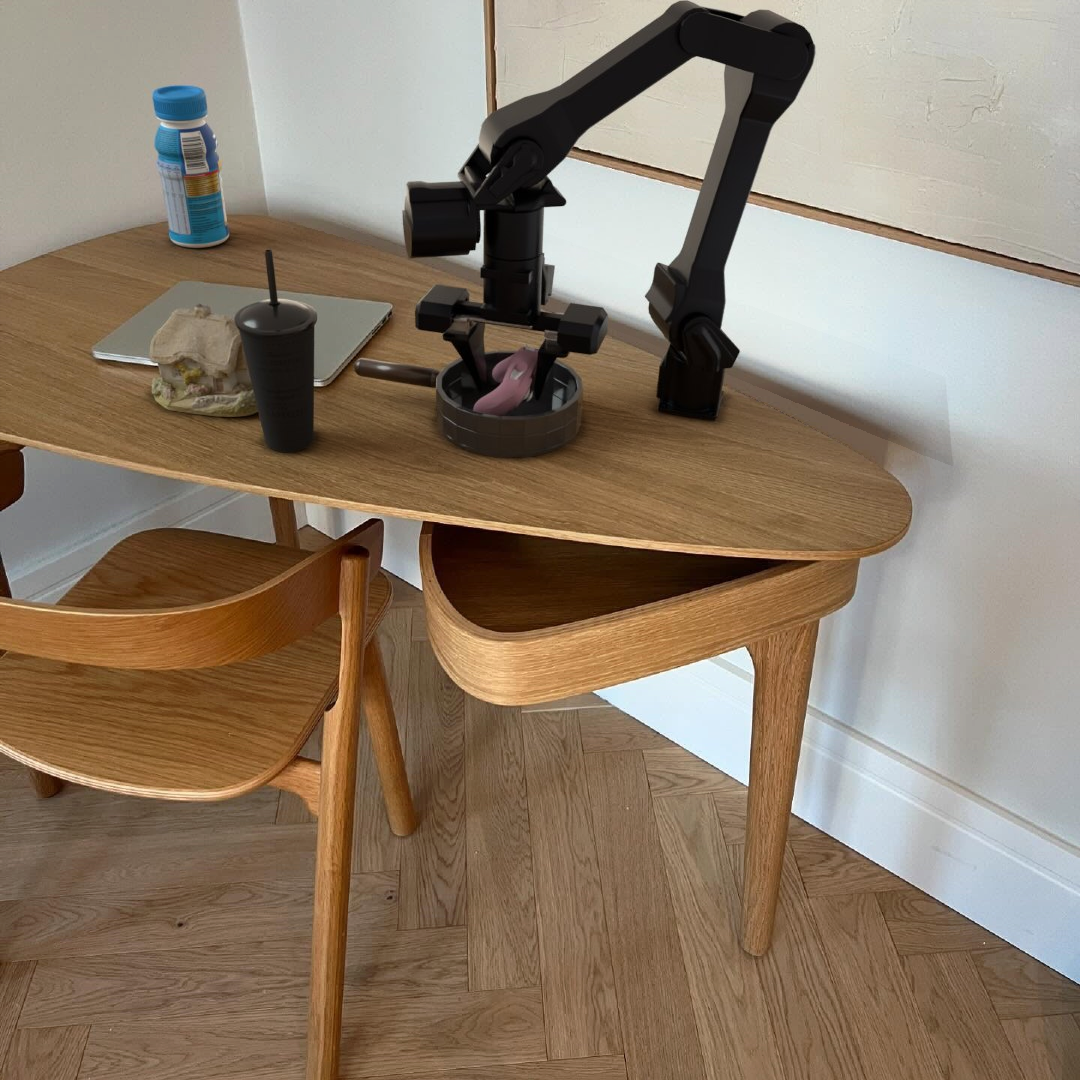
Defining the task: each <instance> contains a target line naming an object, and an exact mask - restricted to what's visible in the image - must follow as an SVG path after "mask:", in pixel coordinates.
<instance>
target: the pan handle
mask: <svg viewBox="0 0 1080 1080" xmlns="http://www.w3.org/2000/svg"><path fill="white" fill-rule="evenodd" d="M353 370H354V372H355V374H356V375H357V376H359V377H363V378H368V379H374V380H381V381H387V382H393V383H399V384H400V383H401V384H406V385H413V386H417V387H424V388H431V389H436V378H437V376H438V375H439V373H440V372H441V370H439V369H437V368H431V367H425V366H417V365H412V364H406V363H399V362H395V361H394V362H393V361H387V360H380V359H374V358H369V357H368V358H367V357H359V358H358V359H356V361H355V362H354V364H353Z"/></svg>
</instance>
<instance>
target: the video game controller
mask: <svg viewBox="0 0 1080 1080" xmlns="http://www.w3.org/2000/svg"><path fill="white" fill-rule="evenodd" d="M538 350H539V348H536V347H535V346H529V345H528V344H527V343H526V344H525V346H521V347H520V348H519V349H518V350H516V351H517V352H516V353H515V354H513V355H512V356H510V357H508V358H506V359H505V360H503V361H501V362H500V363H498V364H497V365H496V366H495V368H494V369H493V372H492V376H493V378H494V380H495V381H496V382H498V383H501V384H500V386H498V387H497V388H496V389H495V390H493V391H492V392H491V393H489V394H487V395H485V396H484V397H482V398H480V399H479V400H478V401H477V402H476V404H475V405H474V408H473V411H476V412H479V413H484V414H490V415H496V416H503V415H505V414H506V413H508V412H509V411H510V412H513V411H514V409H515V408H517V406H518V405H519V404H520V403H521V402H522V401H523V400H525V399H526V398H527V400H526V402H528V401H529V400H530V399H531V398H532V396H533V395H532V394H533V391H532V392H531V393H530V384H531V382H532V380H533V379H532V377H533V375H534V374H535V373H536V366H537V355H538ZM529 393H530V394H529Z"/></svg>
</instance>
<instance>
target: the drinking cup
mask: <svg viewBox="0 0 1080 1080" xmlns="http://www.w3.org/2000/svg"><path fill="white" fill-rule="evenodd" d="M264 257H265V266H266V275H267V283H268V284H267V285H268V292H269V298H266V299H263V300H259V301H256V302H253V303H250V304H248V305H246V306H244V307H242V308H240V309H239V310H238V311H237V312H236V313H235V314H234V318H233V320H234V322H235V326H236V327H237V329H238V330H239V332H240V336H241V340H242V344H243V349H244V353H245V357H246V362H247V366H248V370H249V374H250V379H251V383H252V387H253V391H254V396H255V400H256V404H257V409H258V412H257V414H258V417H259V421H260V425H261V430H262V434H263V438H264V442H265V445H266V446H267V448H269V449H270V450H272V451H275V452H279V453H294V452H299V451H302V450H305V449H307V448H308V447H310V446H311V445H312V444H313V442H314V438H315V437H314V435H315V433H314V432H315V430H314V429H315V325H316V323H317V321H318V314H317V311H316V310H315V308H314V307H313V306H311V305H309V304H307V303H305V302H302V301H299V300H298V301H297V300H293V299H288V298H278V291H277V290H278V289H277V282H276V271H275V264H274V253H273V250H272V249H265V250H264Z"/></svg>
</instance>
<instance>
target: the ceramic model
mask: <svg viewBox="0 0 1080 1080" xmlns="http://www.w3.org/2000/svg"><path fill="white" fill-rule="evenodd" d="M153 335H154V336H153V337H152V338H151V341H150V349H149V351H148V352H149V355H148V358H149V360H150V362H151V363H153V364H157V367H158V371H159V375H160V376H155V377H154V378H153V379H152V380H151V394H152V396H153V397H154V400H155V402H156V403H158V404H159V405H160V406H161V407H163V408H164V409H166V410H168V411H173V412H179V413H186V414H193V415H199V416H211V417H221V418H222V417H226V418H235V417H247V416H251V415H254V414H256V413H257V414H258V409H257V404H256V400H255V396H254V391H253V387H252V383H251V379H250V374H249V370H248V366H247V362H246V357H245V353H244V349H243V344H242V340H241V336H240V332H239V330H238V329H237V327H236V326H235V322H234V319H233V317H231V316H228V315H224V314H220V313H219V314H218V313H214V312H213V313H212V311H211V306H209V304H201V303H197V304H196V305H195V306H194V308H193V310H192V309H190V308H189V309H188V308H176V309H175V310H173V311H171V314H170V316H169V318H168V319H167V320H166V321H165V323H164V324H163V325H162V326H161V327H160V328H159V329H158V330H156V331H155V332H154V334H153Z"/></svg>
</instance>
